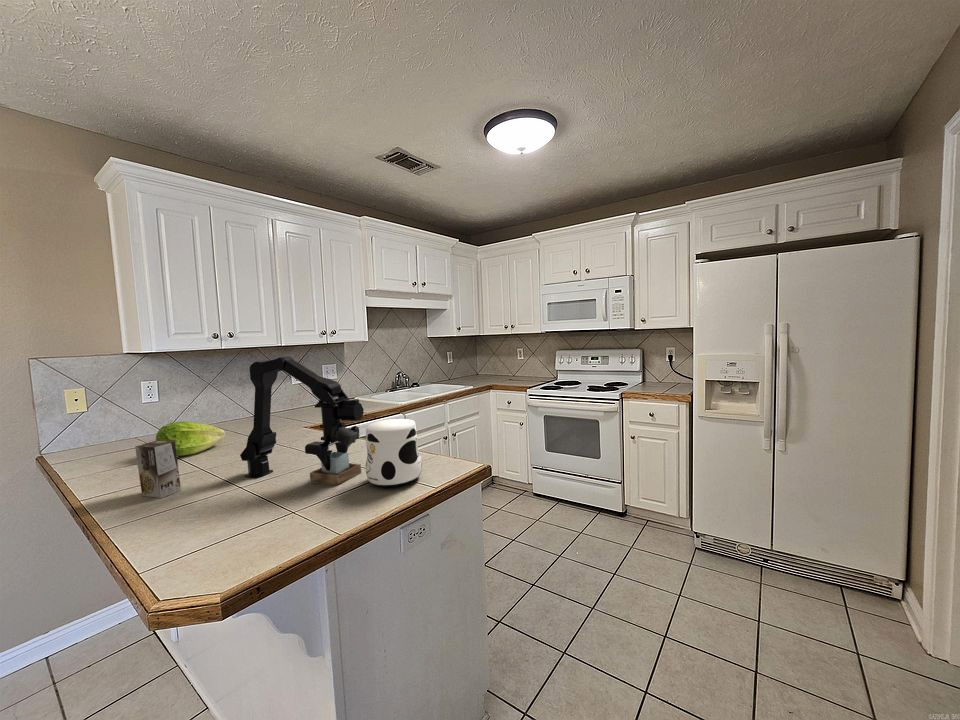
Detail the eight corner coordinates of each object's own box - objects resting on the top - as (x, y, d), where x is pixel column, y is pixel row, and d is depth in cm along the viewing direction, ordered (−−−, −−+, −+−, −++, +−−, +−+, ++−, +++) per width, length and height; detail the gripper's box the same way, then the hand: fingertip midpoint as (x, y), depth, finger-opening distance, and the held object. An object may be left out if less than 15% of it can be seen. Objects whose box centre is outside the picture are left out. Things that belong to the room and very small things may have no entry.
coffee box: (182, 490, 127) (176, 440, 126) (160, 498, 121) (154, 447, 120) (162, 488, 130) (156, 439, 129) (140, 496, 124) (134, 445, 123)
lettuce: (231, 450, 173) (231, 417, 175) (160, 459, 155) (160, 422, 157) (219, 450, 185) (219, 419, 186) (152, 458, 167) (152, 424, 168)
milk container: (356, 483, 125) (351, 426, 124) (401, 466, 138) (397, 415, 136) (387, 496, 114) (382, 434, 112) (434, 477, 126) (430, 421, 125)
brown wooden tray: (310, 482, 128) (309, 472, 128) (335, 469, 139) (334, 461, 138) (337, 485, 124) (336, 476, 124) (361, 472, 134) (360, 464, 134)
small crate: (322, 472, 129) (320, 457, 129) (335, 466, 135) (334, 451, 135) (336, 474, 127) (335, 458, 127) (349, 467, 133) (348, 453, 132)
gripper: (329, 429, 118) (334, 480, 119) (370, 414, 135) (373, 459, 136) (301, 427, 122) (306, 476, 124) (344, 413, 139) (347, 457, 141)
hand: (335, 467), depth 131 cm, fingers closed on small crate, 6 cm apart
